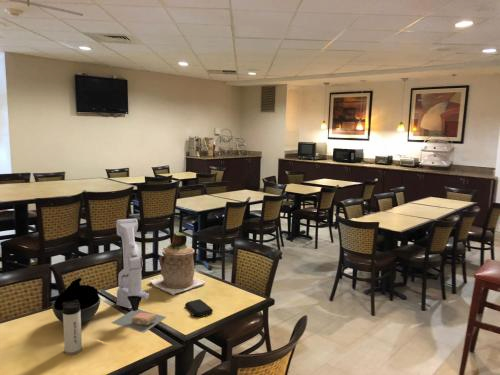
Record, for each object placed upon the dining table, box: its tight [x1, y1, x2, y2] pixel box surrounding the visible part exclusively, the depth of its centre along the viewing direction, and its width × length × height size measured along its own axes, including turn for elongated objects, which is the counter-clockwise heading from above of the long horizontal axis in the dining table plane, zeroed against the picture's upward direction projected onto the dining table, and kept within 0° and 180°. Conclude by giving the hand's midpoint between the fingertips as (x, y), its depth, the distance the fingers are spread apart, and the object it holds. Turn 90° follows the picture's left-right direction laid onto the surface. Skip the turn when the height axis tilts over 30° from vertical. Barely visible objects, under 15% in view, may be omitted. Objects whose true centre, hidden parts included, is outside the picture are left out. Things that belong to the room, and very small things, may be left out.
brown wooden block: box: [132, 312, 156, 325], centre depth 174 cm, size 3×6×9 cm
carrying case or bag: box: [184, 299, 214, 318], centre depth 188 cm, size 11×3×15 cm
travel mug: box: [62, 301, 83, 356], centre depth 150 cm, size 6×7×20 cm
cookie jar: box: [148, 231, 206, 296], centre depth 218 cm, size 25×25×32 cm
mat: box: [111, 308, 167, 334], centre depth 176 cm, size 19×16×1 cm
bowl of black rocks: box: [51, 277, 101, 325], centre depth 172 cm, size 20×20×19 cm
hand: (135, 310), depth 175 cm, fingers closed
